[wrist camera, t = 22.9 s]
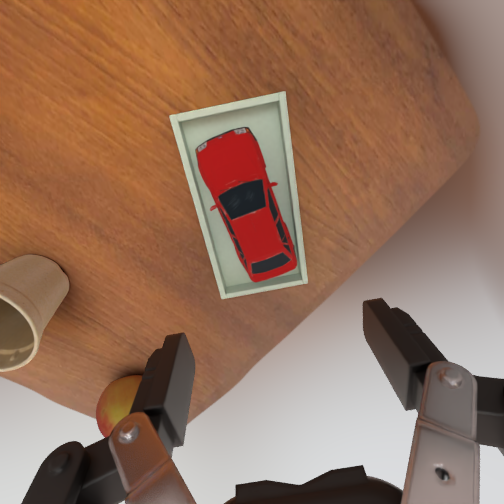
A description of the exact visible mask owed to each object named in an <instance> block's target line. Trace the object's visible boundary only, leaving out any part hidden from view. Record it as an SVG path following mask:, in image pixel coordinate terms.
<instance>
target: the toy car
mask: <svg viewBox="0 0 504 504" xmlns="http://www.w3.org/2000/svg"><path fill="white" fill-rule="evenodd" d="M195 152H196V157H197V163H198V168H199V172H200V174H201V177H202V179H203V181H204V183H205V185H206V186H207V187H208V189H209V191H210V193H211V195H212V197H213V199H214V202H215V204H216V205H213V206H212V207H211V208H210V211H212V210H214V209H216V208H218V211H219V213H220V215H221V217H222V220H223V222H224V224H225V226H226V229H227V231H228V233H229V235H230V238H231V240H232V242H233V244H234V247H235V250H236V253H237V256H238V258H239V260H240V262H241V263H242V265H243V267H244V268H245V270H246V272H247V273H248V275H249V277H250V279H251V280H252V281H253V282H260V281H264V280H268V279H271V278H274V277H276V276H279V275H282V274H285V273H287V272H289V271H291V270H294V269H295V268H296V266H297V257H296V253H295V246H294V245H293V242H292V239H291V236H290V233H289V230H288V228H287V225H286V223H285V222H284V221H283V218H282V215H281V212H280V210H279V207H278V204H277V201H276V198H275V195H274V193H273V190H272V187H273V186H277V184H278V183H276V182H272V183H270V181H269V179H268V176H267V173H266V170H265V168H266V164H265V161H264V158H263V155H262V152H261V149H260V146H259V144H258V141H257V139H256V137H255V136H254V135H253V133H252V132H251V130H250V128H249V127H240V128H236V129H231V130H229V131H226V132H224V133H222V134H219V135H217V136H215V137H212V138H210V139H208V140H207V141H205V142H203V143H202V144H200V145H199V146H198V147H197V148H196V149H195Z"/></svg>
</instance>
